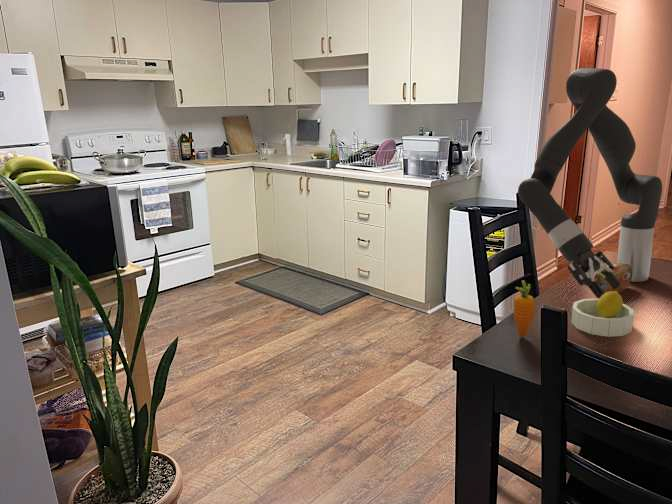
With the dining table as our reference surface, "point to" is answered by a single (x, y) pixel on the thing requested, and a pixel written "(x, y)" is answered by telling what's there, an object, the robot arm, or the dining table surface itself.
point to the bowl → (601, 319)
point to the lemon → (609, 304)
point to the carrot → (523, 310)
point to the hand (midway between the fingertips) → (609, 291)
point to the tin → (622, 275)
